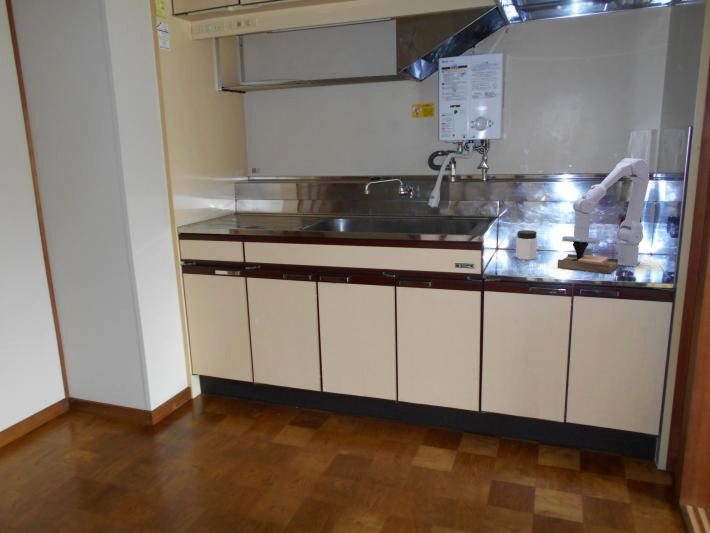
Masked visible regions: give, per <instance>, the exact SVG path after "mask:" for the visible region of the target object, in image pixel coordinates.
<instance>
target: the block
mask: <svg viewBox="0 0 710 533" xmlns="http://www.w3.org/2000/svg"><path fill="white" fill-rule="evenodd" d="M593 253H594V247H593V246H587V247H586V249H585V251H584V254H583V255H584V256H585V255H590V256H594V255H593Z"/></svg>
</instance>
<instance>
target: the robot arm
mask: <svg viewBox="0 0 710 533" xmlns="http://www.w3.org/2000/svg"><path fill="white" fill-rule="evenodd" d="M622 177H628V178H629V179H630V180H631V181H632V182H633V183H632V187H631V193H630V197H629V200H628V206H627V210H626V214H625V215H626V216H625V219H624V220H623V221H622V222H621V223H620V226H619V227H618V229H617V230H616V231H617V232H616V238H617V239H618V244H619V245H618V256H617V259H618V266H625V267H626V266H627V267H637V266H638V265H639V264H640V263H641V261H639V260H638V259H639V250H640V249H639V245H640V243H642V241H643V239H644V234H643V230H644V227H643V225H642V223H641V218H642V213H643V209H644V205H645V200H646V195H647V191H648V186H649V182H650V175H649V164H648V162H647V161H646V160H645V159H643V158H630V157H625V158H623V159H622V160H620V162H618V163H617V164H616V166H615V168H613V170H612V171H611V172H610V173H609V174H608V175H607V176H606V177H605V178H604V180H602V181H601V183H599V184H598V183H597V184H594V185H591V186H590V188H589V190H588V191H587V192H586V193H585V194H582V195H581V197H580V198H579V197H578V198H577V199H576V200H575V201H574V203H573V204H572V209H573V210H574V214H575V216H574V229H573V236H570V235H569V236H567V235H563V236H562V242H569V243H570V242H572V247H573V249H574V251H575V255H577V260H579V259H580V258H582V256H583V254H584V251H585V249H586V247H589V245H590V244H591V245H592V244H593V245H601V239H599V238H593V237H590V236H589V235H590V224H591V223H590V221H591V212H592V211H593V210H594V209H595V205H596V204H597V203H598V202H599V201H600V200H601V199H603V198H604V197H605V196H606V194H607V190H608V189H610V187H612V186H613V185H614V184H615V183H617V182H618V181H619V180H620V179H621V178H622Z"/></svg>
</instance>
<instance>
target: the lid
mask: <svg viewBox="0 0 710 533" xmlns="http://www.w3.org/2000/svg"><path fill="white" fill-rule="evenodd" d="M608 258H610V257H608V256H600V255H593V256H590V255H585V256H583V257H582V258H580V259H579V260H578V262H586V263H595V264H605V263H606V262H607V261H608Z"/></svg>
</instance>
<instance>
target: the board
mask: <svg viewBox="0 0 710 533" xmlns="http://www.w3.org/2000/svg"><path fill="white" fill-rule="evenodd" d="M583 256H584V255H583ZM583 256H582V257H583ZM618 266H619V265H618V258H610V257H609V258H608V261H607V262H606V263H605V264H595V263H586V262H578V260H577V255H576V254H571V253H568V254H567V256H565V257H564V258H561V259H560V258H559V259H557V269H563V270H571V271H578V272H586V271H588V273H594V272H595V274H604V275H610V274H611V273H612V272H613V271H615V270H616V269H618Z"/></svg>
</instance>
